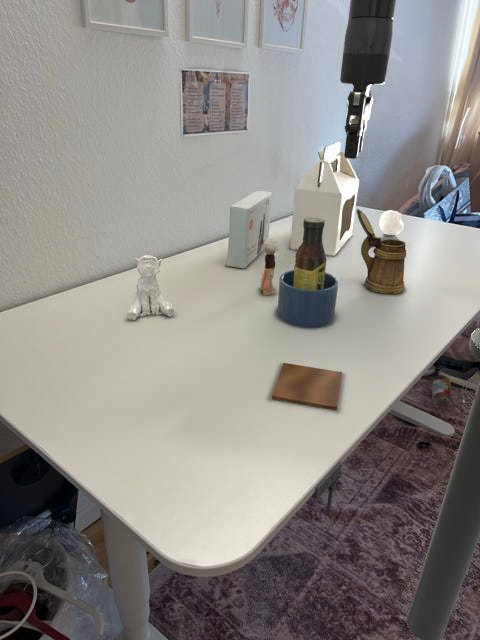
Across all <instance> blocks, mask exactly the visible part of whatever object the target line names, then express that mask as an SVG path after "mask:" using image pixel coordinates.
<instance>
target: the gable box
mask: <svg viewBox="0 0 480 640" xmlns="http://www.w3.org/2000/svg"><path fill="white" fill-rule="evenodd" d="M340 149H341V142H340V141H337V142H335V143H333V144H330V145H328V146H325V147H324V148H323V149H322V150H319V151H318V152H317V155H318V157H319V159H318V160H316V161H315V162H314V163H313V165H311V167H310V168H309V169H308V171H307V172H306V174H305V175H304V176H303V177H302V179H301V180H300V182H299V183H298V184H297V186H296V187H295V188H294V193H293V207H292V219H291V234H290V247H289V248H290V249H291V250H295V251H297V250H298V248H299V247H300V245H301V244H302V243H303V235H304V227H303V223H304V219H305V218H311V217H315V218H321V219H323V220H325V225H324V228H323V236H322V243H323V248H324V252H325V256H331V257H335V256H336V255H337V254H338V252H339V251H340V250H341V249H342V248H343V246H344V245H345V244H346V242H347V241H348V240H349V239H350V238H351V236H352V235H353V226H354V220H355V211H356V204H357V199H358V191H359V184H360V183H359V182H360V180H359V178H358V176H357V175H356V172H355V170H354V168H353V167H352V165H351V162H350V161H349V158H345V157H344V153H345V152H343V151H341V150H340Z"/></svg>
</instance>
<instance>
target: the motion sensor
mask: <svg viewBox="0 0 480 640" xmlns="http://www.w3.org/2000/svg"><path fill="white" fill-rule="evenodd" d="M401 216H402V214H401V213H400V212H398V211H395V210H392V209H389V210H386V211H385V212H383V213H382V214H381V215H380V218H379V220H378V226H379V230H380V231H381V232H382V233H383V234H385V235H387V236H395V235H398V234H400V233H402V231H403V230H404V222H403V221H402V218H401Z"/></svg>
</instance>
